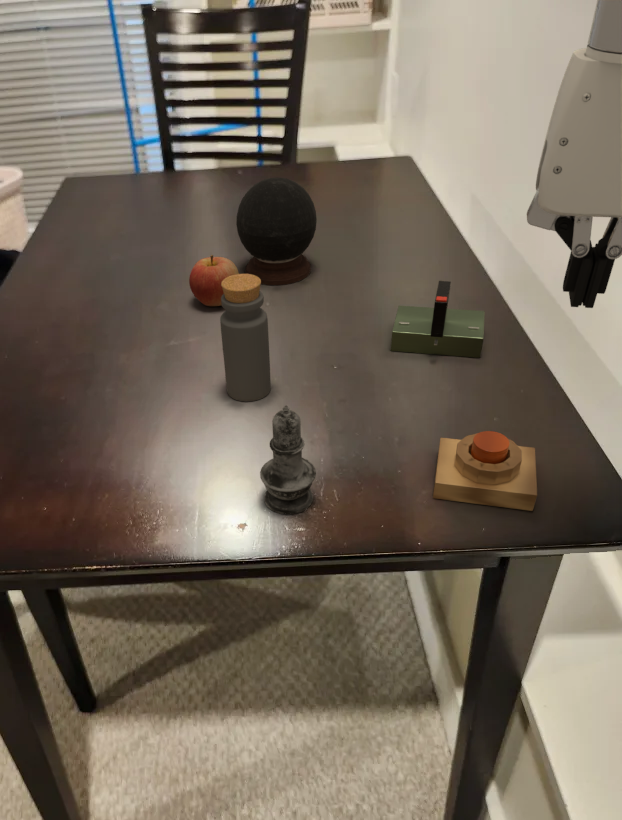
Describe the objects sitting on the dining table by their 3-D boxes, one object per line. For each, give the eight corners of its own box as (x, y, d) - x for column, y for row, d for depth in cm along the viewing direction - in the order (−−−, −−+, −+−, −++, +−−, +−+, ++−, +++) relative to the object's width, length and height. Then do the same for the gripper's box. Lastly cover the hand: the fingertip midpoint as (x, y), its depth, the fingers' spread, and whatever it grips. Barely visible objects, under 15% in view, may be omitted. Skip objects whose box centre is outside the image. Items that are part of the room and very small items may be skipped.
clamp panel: (481, 330, 99) (485, 309, 97) (479, 369, 91) (483, 347, 89) (396, 324, 102) (398, 304, 100) (387, 361, 94) (389, 340, 92)
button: (506, 446, 73) (509, 432, 72) (506, 467, 70) (509, 453, 69) (471, 442, 74) (473, 429, 73) (470, 462, 71) (472, 449, 70)
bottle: (228, 404, 89) (217, 294, 79) (225, 380, 93) (215, 273, 83) (273, 399, 89) (268, 289, 79) (268, 375, 93) (263, 269, 83)
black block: (434, 314, 97) (439, 278, 93) (446, 315, 97) (451, 279, 93) (430, 336, 92) (434, 300, 89) (442, 337, 92) (447, 301, 88)
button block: (530, 463, 76) (538, 434, 74) (532, 511, 71) (541, 481, 68) (438, 452, 79) (442, 424, 76) (432, 498, 73) (437, 469, 70)
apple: (235, 315, 107) (231, 265, 102) (186, 313, 109) (180, 264, 103) (246, 292, 113) (242, 244, 108) (199, 290, 115) (193, 243, 109)
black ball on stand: (326, 280, 114) (327, 186, 104) (249, 292, 113) (243, 198, 103) (304, 251, 124) (303, 162, 114) (233, 262, 122) (226, 172, 113)
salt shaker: (316, 480, 76) (317, 388, 68) (315, 517, 72) (315, 423, 64) (263, 480, 77) (258, 388, 69) (259, 515, 73) (252, 422, 65)
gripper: (774, 13, 44) (674, 285, 56) (528, 21, 48) (484, 275, 60) (811, 33, 39) (692, 329, 51) (531, 41, 42) (482, 315, 55)
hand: (580, 299), depth 55 cm, fingers closed
